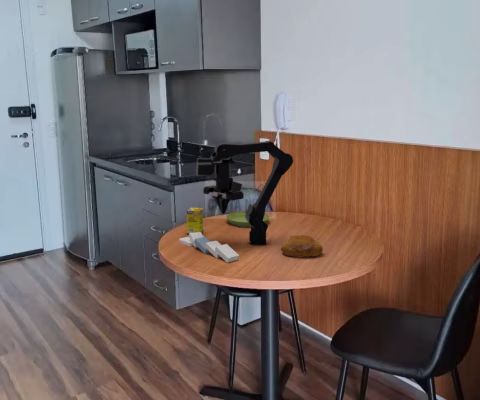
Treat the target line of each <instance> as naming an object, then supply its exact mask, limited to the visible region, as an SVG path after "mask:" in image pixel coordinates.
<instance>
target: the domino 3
mask: <svg viewBox="0 0 480 400" xmlns="http://www.w3.org/2000/svg"><path fill="white" fill-rule="evenodd" d="M207 242H212V240H210V239H209V238H207V237H206V236H204V237H202V238H197V239H195V241H194V244H195V245H196V246H197V247H196V248H198V249H199V250H201V252H202V253H203V254H205V255H207V254H211V253H210V252H209V251H208V250H207V249H206V248H205V244H206V243H207Z"/></svg>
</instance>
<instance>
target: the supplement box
mask: <svg viewBox="0 0 480 400" xmlns="http://www.w3.org/2000/svg"><path fill="white" fill-rule="evenodd" d="M195 232H201V233H202V232H203V233H204V208H203V207H189V208H188V209H187V210H186V235H188V236H189V233H195ZM203 233H202V234H203Z"/></svg>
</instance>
